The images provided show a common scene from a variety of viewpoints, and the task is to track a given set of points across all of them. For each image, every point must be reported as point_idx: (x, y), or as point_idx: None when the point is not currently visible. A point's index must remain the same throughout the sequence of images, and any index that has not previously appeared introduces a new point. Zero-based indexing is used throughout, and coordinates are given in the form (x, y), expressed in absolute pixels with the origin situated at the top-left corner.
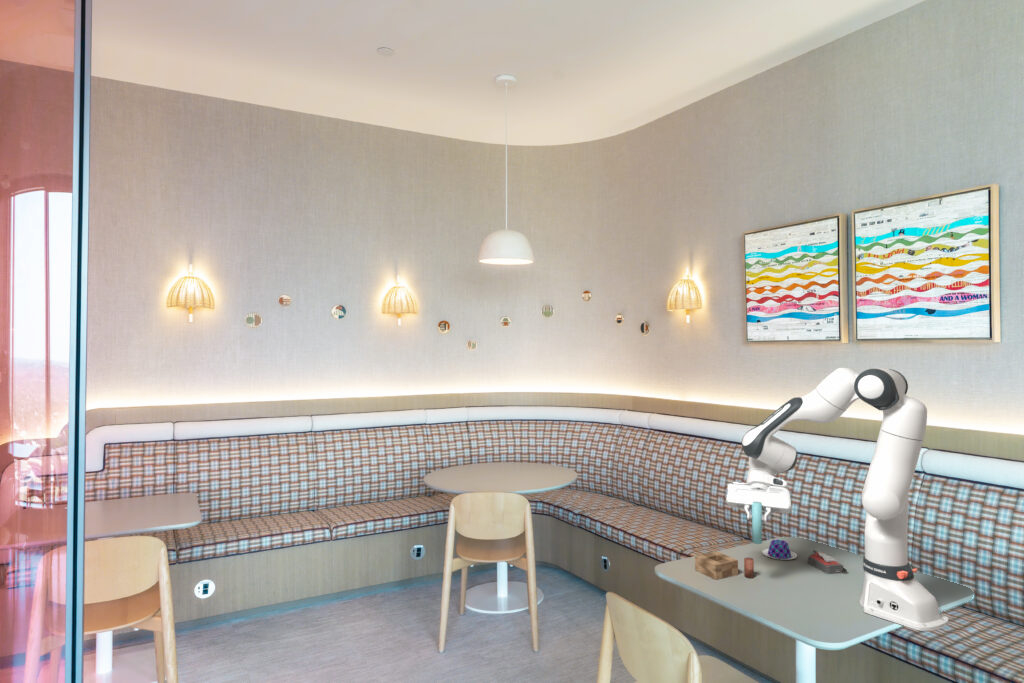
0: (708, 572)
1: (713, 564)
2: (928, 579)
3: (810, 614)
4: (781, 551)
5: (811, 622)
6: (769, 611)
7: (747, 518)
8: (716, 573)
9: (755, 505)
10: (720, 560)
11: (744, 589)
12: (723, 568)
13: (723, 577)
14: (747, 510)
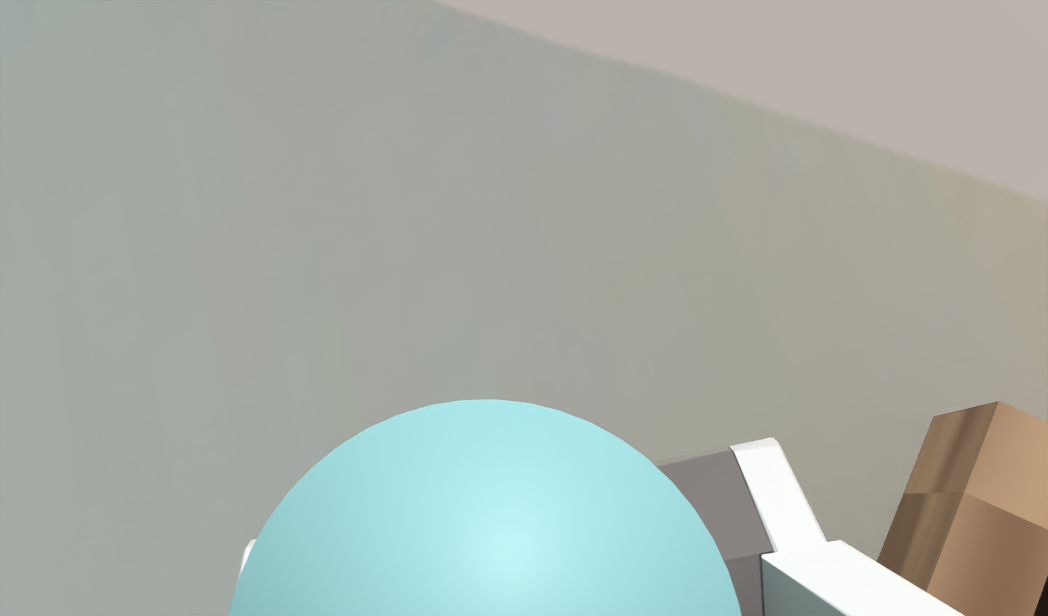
0: None
1: (1033, 418)
2: None
3: (43, 196)
4: None
5: (17, 65)
6: (319, 59)
7: (757, 444)
8: (955, 417)
9: (483, 404)
10: (1031, 593)
11: (628, 362)
12: (933, 512)
13: (900, 510)
14: (872, 613)
